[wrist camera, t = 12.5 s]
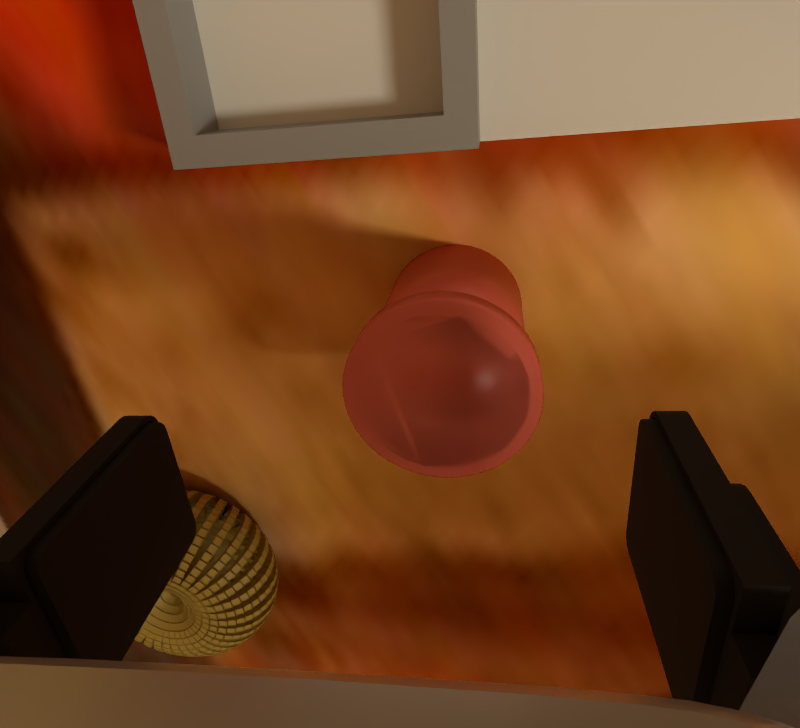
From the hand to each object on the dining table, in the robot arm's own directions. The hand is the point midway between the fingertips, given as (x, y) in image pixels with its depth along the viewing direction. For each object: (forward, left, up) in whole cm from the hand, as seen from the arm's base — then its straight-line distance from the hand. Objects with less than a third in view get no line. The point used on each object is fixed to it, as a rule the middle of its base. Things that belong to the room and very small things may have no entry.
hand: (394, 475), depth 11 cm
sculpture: (+11, +11, -10) cm, 19 cm away
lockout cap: (-1, 0, -10) cm, 9 cm away
